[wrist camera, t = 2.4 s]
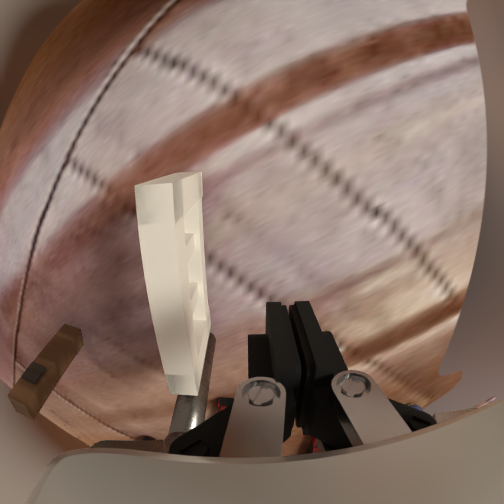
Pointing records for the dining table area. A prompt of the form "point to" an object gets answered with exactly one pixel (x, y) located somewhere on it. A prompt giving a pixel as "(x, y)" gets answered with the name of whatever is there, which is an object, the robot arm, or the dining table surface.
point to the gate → (175, 274)
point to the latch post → (45, 372)
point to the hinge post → (193, 400)
